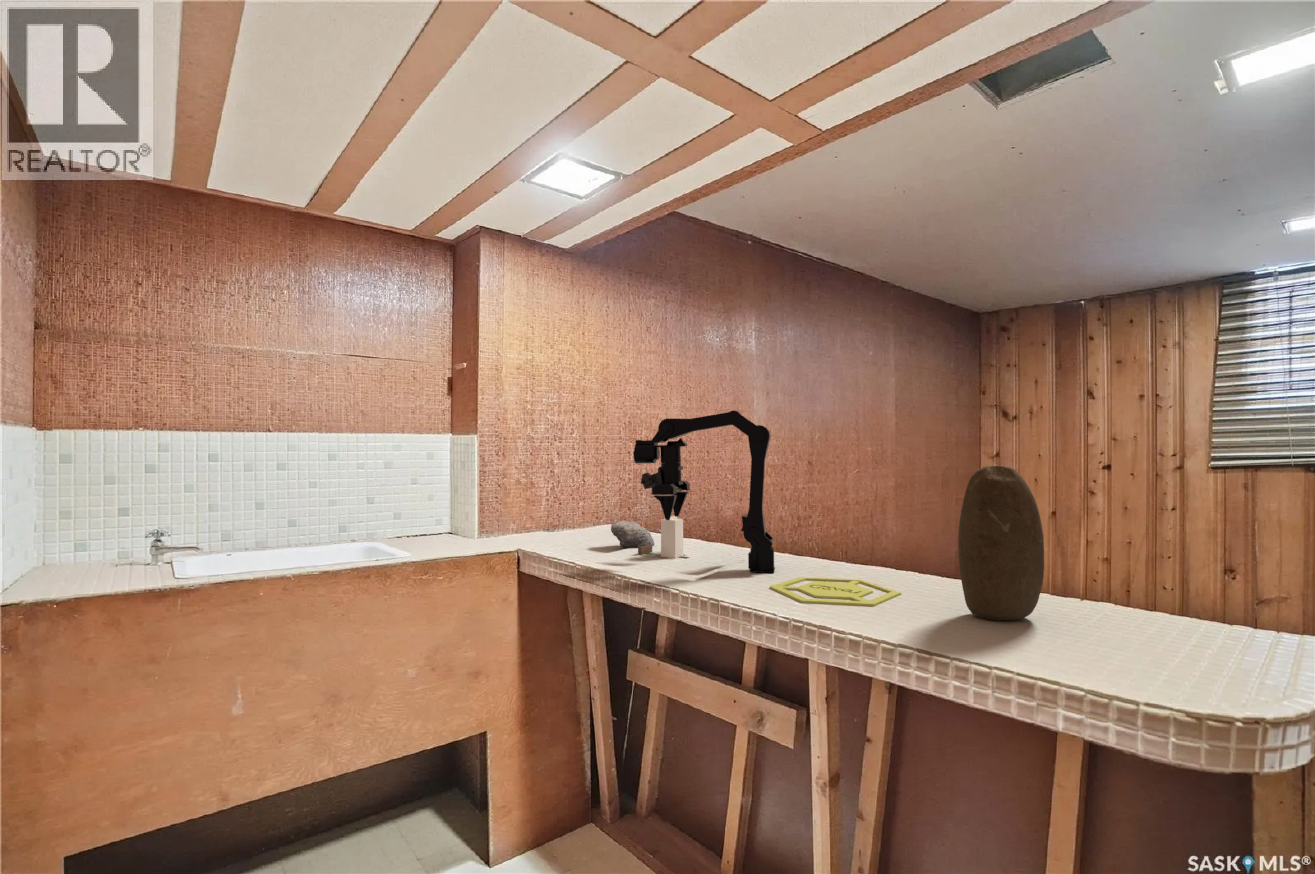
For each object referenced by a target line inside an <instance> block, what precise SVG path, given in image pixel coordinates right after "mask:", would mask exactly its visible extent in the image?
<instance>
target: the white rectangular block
mask: <svg viewBox="0 0 1315 874" xmlns="http://www.w3.org/2000/svg"><path fill="white" fill-rule="evenodd" d="M660 552H661V556H660V557H667V558H668V557H670V558H676V559H679V558H678V557H681V556H683V554H684V519H683V518H678V517H675V515H671V517H670V520H666V519H665V518H661V519H660ZM683 557H684V556H683Z"/></svg>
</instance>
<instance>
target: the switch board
mask: <svg viewBox="0 0 1315 874" xmlns="http://www.w3.org/2000/svg"><path fill="white" fill-rule="evenodd" d="M637 552H638V553H637V555H638V556H640V557H645V558H653V559H654V558H656V559H664V560H670V561H671V560H675V559H685V560H686V559H689V558H691V557H690V556H689V557H688V556H687V554H684V553H683V556H681V557H678V558H670V557H661V551H653V546H652V545H645V546H641V547H638V548H637Z"/></svg>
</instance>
